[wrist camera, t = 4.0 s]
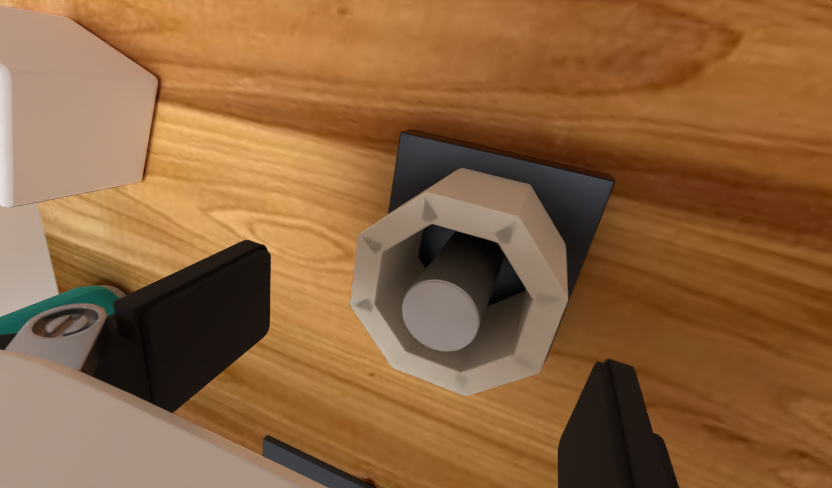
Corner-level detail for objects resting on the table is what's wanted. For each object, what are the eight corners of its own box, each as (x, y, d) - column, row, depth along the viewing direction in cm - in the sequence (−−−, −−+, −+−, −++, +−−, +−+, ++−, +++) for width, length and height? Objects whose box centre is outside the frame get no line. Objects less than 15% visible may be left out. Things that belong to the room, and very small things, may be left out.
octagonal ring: (583, 197, 15) (593, 236, 11) (531, 342, 18) (522, 419, 14) (415, 156, 17) (365, 175, 13) (391, 294, 20) (344, 349, 16)
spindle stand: (612, 175, 16) (647, 225, 9) (545, 349, 19) (538, 470, 13) (409, 129, 18) (327, 145, 12) (383, 293, 22) (309, 374, 15)
